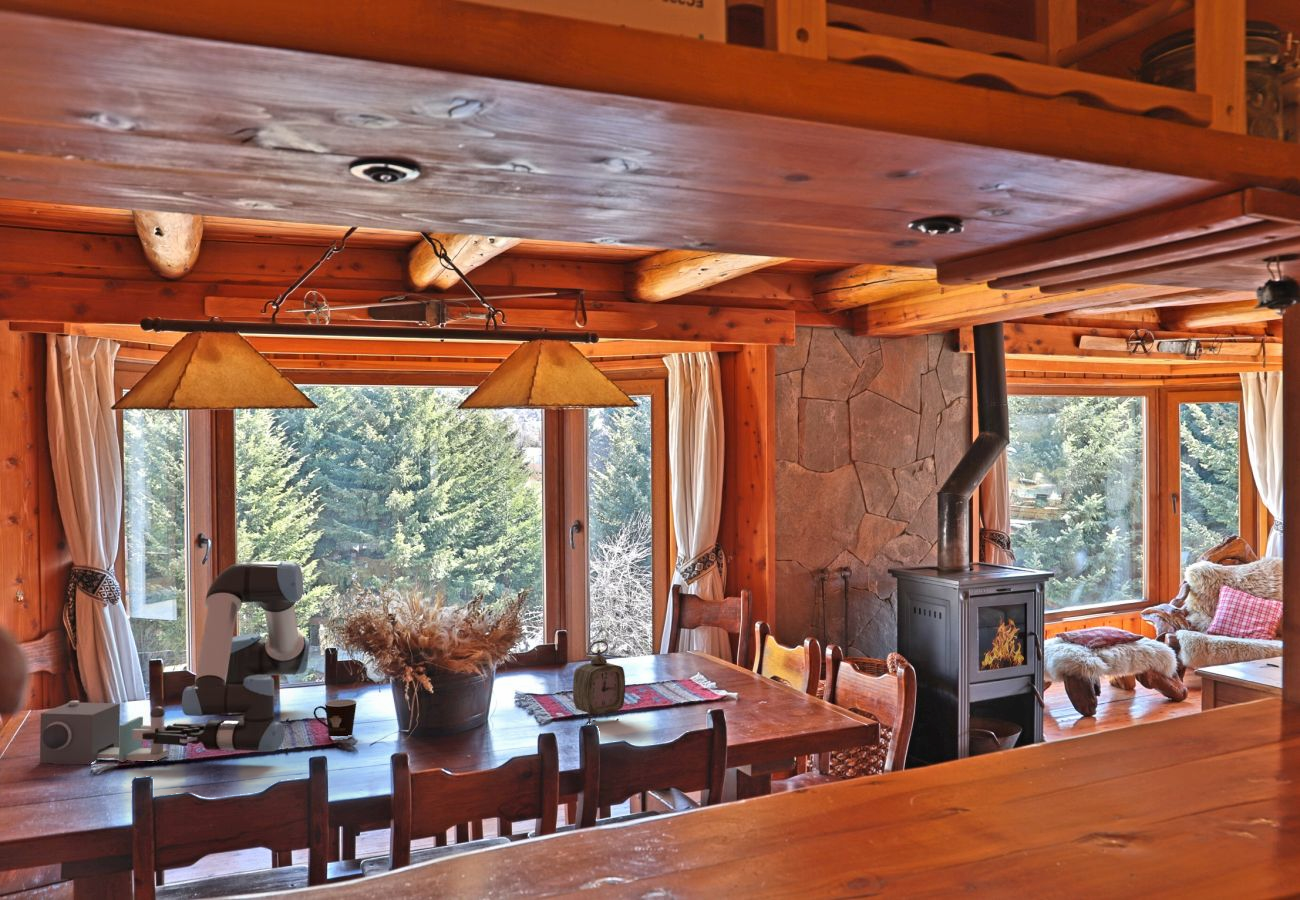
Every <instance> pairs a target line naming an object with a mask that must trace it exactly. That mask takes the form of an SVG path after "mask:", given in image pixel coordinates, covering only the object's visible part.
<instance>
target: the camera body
mask: <svg viewBox="0 0 1300 900" xmlns="http://www.w3.org/2000/svg"><path fill="white" fill-rule="evenodd" d="M120 711H121V704H120V703H110V702H105V703H104V702H103V703H102V702H80V700H70V701H68V702H67V703H64V704H62V705H60V706H57V707H53V708H52V709H49V710H46V711H44V712H41V713H40V728H39V729H40V734H39V735H40V737H39V739H40V740H39V742H40V743H39V752H40V753H39V764H41V763H54V764H53V765H74V764H88V765H87V766H90V765H89V764H91V763H92V762H94V761H95V760H97V758H98V750H100V749H102V748H105V747H116V748H119V735H120V725H121V723H120V721H121V720H120V719H121V716H120V714H121V713H120ZM97 761H98V760H97ZM55 763H56V764H55Z"/></svg>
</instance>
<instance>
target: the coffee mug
mask: <svg viewBox="0 0 1300 900" xmlns="http://www.w3.org/2000/svg"><path fill="white" fill-rule="evenodd" d="M318 709H322V710H324V711H325V713H326V722H324V721H322V720H321V719H320V718H319V717H318V716H317V714H316V713H317V710H318ZM356 709H357V701H356V700H355V699H349V698H341V699H340V698H339V699H331V700H328V701H326V702H325V703H324V706H322V705H318V706H316V707H315V708H314V709H313V716H314V718H315V719H316V720H317V721H318V722H319V723H320V724H321V725H323V726H324V727H326V728H327V734H328V737H329V736H348V735H352V736H353V733H354V732H353V731H354V726H355V725H354V723H355V717H356Z"/></svg>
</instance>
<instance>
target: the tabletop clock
mask: <svg viewBox="0 0 1300 900" xmlns="http://www.w3.org/2000/svg"><path fill="white" fill-rule="evenodd" d="M597 644H605V646H606V647H605V649H604V650H603V651H601V649H597V650H596V652H594V651H592V649H593V646H595V645H597ZM608 649H609V645H608V643H607V642H606V641H605V640H596V641H594V642H593V643H591V644H590V647H589V652H590V653H591V654H592V655H593V657H592V658H591V660H590V662H589V663H585V664H581V665H579V666H578V667H577V668H575V670H574V672H573V680H572V697H573V699H572V700H573V703H574V706H575V709H576V710H579V711H581V712H584V713H587V714H588V721H587V722H586V725H587V724H588V723H589V724H590V723H592V720H591V717H592V716H593V714H594V715H595V716H599V715H607V714H612V713H615V712H618V711H619V710H621V709H622V708H623V706H624V703H625V699H626V698H625V697H626V696H625V695H626V675H625V670H624V667H623V666H621V665H618V664H613V663H610V662H607V658H606V657H605V656H604V655H603V654H605V653H606V652H607V650H608Z"/></svg>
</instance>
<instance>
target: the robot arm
mask: <svg viewBox="0 0 1300 900" xmlns="http://www.w3.org/2000/svg"><path fill="white" fill-rule="evenodd" d="M303 593H304V579H303V572H302V569H301V565H300V564H299V563H298V562H296V561H287V560H282V561H281V560H280V561H279V560H278V561H276V560H275V561H240V562H236V563H234V564H232V565H230V566H228V567H227V568H225V569H224V570H223V571H221V572H220V574H218V575H217V576H216V578H215V579H214V580H213V581H212V583H211V584H210V587H209V588H208V590H207V593H206V596H205V602H204V606H205V608H206V610H207V611H206V612H207V613H206V618H205V623H204V628H203V635H202V641H201V646H200V650H199V651H200V652H199V657H198V663H197V667H196V672H195V673H196V674H195V677H194V685H190V686H186V687H185V688H184V689H183V692H182V698H181V710H182V712H183V714H184V715H186V717H187V716H189V717H191V716H192V717H193V716H194V717H203V716H215V715H224V716H233V715H234V716H235V715H236V716H240V715H243V716H242V720H232V719H230V720H229V719H227V720H221V719H220V720H219V719H211V720H209V721H207V723H172V725H171V724H168V725H164V731H158V728H156V729H155V730H153V729H151V724H148V725H147V724H145V725H144V724H143V725H142V726H141V727H140V729H133V730H132V740H143V741H148V742H149V741H150V742H151V741H153V743H154V744H163V745H172V746H173V745H175V746H181V747H187V746H188V744H192V745H198V744H200V743H201V744H202V745H203V748H205V750H209V751H212V750H213V751H220V750H222V751H231V753H234V752H236V751H246V752H260V753H261V752H275V751H277V750H279V749H280V747H281V746H282V744H283V742H284V737H285V729H284V724H283V723H282V722H280V721H276V720H275V695H276V694H275V693H276V692H275V679H274V678H273V677H272V676H282V675H283V676H284V675H286V676H288V675H289V676H291V675H292V676H295V675H301V674H305V673H306V671H307V669H308V664H309V663H308V662H309V661H308V660H309V655H310V654H309V653H310V652H309V651H310V642H311V641H310V638H309V637H306V636H303V634H301V632H299V630H298V623H297V615H296V607H295V605H296V603H297V602H298V601H301V599H302V597H303V595H304V594H303ZM243 603H257V604H258V606H259V607H260V609H261V610H263V612H264V615H265V616H264V617H265V621H266V629H267V635H268V637H267V638H262V636H261V634H260V633H248V634H246V633H245V634H240V635H236V636H234V633H235V626H236V619H237V613H238V612H239V611H240V610H241V609H242V606H243Z"/></svg>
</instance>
